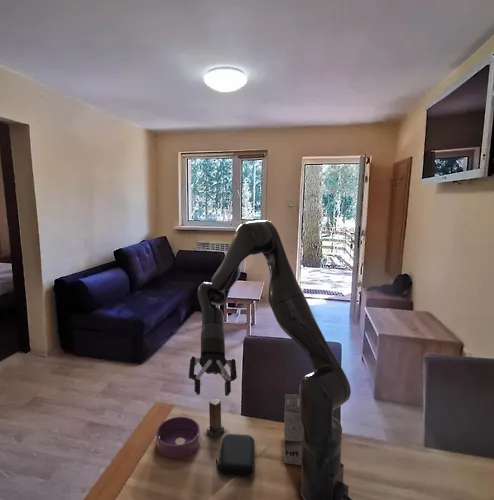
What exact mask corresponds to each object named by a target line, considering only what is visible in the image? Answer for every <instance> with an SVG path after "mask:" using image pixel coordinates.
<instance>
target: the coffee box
mask: <svg viewBox="0 0 494 500" xmlns="http://www.w3.org/2000/svg"><path fill="white" fill-rule="evenodd" d="M283 422H284V426H283V427H284V430H283V431H284V432H283V463H284V464H290V465H296V466H301V464H302V431H303V426H302V423H301V420H300V412H299V394H295V393H294V394H292V393H285V395H284V421H283Z"/></svg>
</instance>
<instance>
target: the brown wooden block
mask: <svg viewBox="0 0 494 500" xmlns="http://www.w3.org/2000/svg"><path fill="white" fill-rule="evenodd" d="M208 405H209V408H208V409H209V411H208V412H209V427H207V428H206V433H207V434H208V435H209V436H211V437H212V438H216V437H217V436H219V435H220V434H221V433H223V432H224V431H225V426H224V425H222V402H221V400H219V399H217V398H213V399H212V400H210V401H209V402H208Z"/></svg>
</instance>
